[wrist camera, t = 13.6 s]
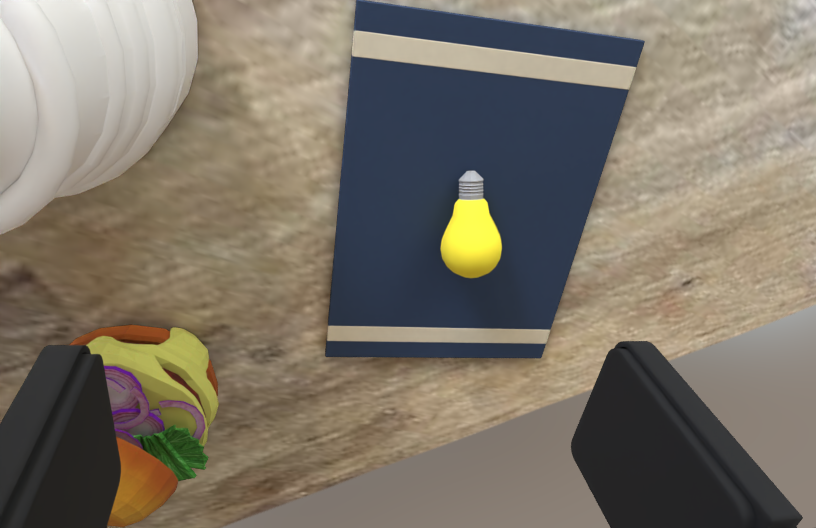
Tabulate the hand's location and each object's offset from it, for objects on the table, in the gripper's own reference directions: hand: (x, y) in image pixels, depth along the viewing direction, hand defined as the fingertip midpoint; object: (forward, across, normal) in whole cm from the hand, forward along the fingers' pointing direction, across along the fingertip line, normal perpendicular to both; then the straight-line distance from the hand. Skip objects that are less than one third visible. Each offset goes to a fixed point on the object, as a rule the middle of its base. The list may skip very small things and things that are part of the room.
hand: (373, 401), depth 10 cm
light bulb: (+20, -9, +6) cm, 23 cm away
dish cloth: (+21, -9, +6) cm, 23 cm away
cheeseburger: (+21, +10, +19) cm, 30 cm away
